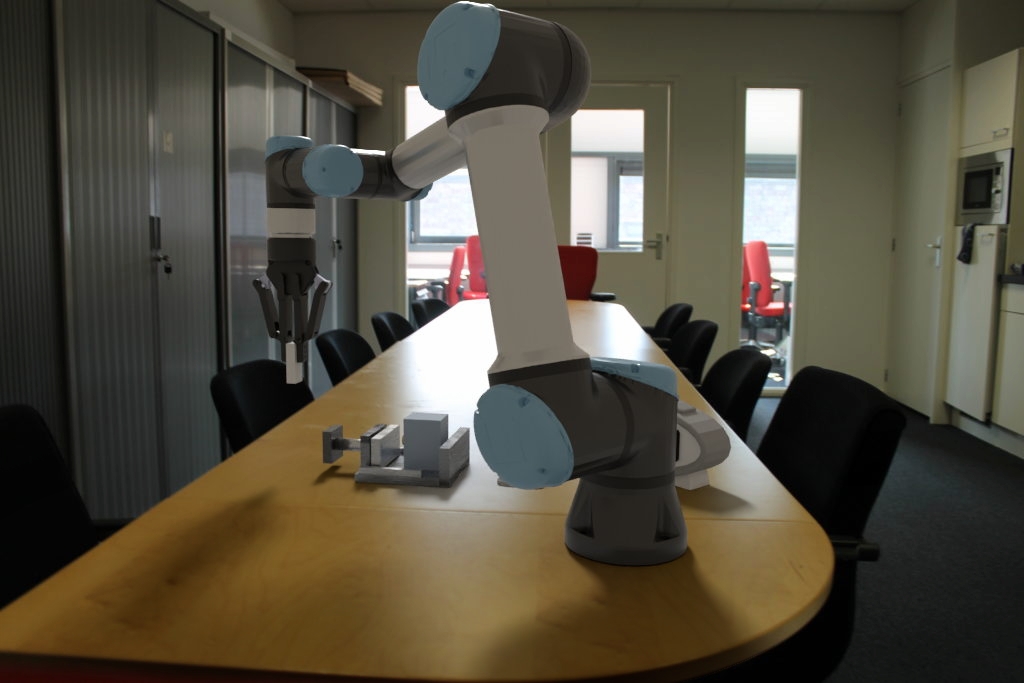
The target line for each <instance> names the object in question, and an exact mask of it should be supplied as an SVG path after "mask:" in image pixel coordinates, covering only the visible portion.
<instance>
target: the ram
mask: <svg viewBox="0 0 1024 683" xmlns="http://www.w3.org/2000/svg"><path fill="white" fill-rule="evenodd" d="M343 427H344V426H343V424H333V425H330V427H328V428H326V429H324V430H322V432H321V433H322V463H323V464H329V465H331V464H334V463H335V462H337V461H338V460H339V459H341V458H342V457H343V456H344V452H348V451H349V452H360V438H347V437H344V428H343ZM400 427H401V426H400V424H392V423H391V424H389V425H388V426H387V428H385V429H384V430H382V431H381V432H380V433H378V434H377V435H375V436H374V437H373V438H371V466H374V467H385V466H387V465H388V464H389V463H390V462H391V461H392V460H394V459H395V458H396V457H397V456H398V455H399V454H400V447H401V441H400V440H401V439H400V438H401V437H400V436H401V431H400Z"/></svg>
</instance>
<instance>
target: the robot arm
mask: <svg viewBox="0 0 1024 683" xmlns="http://www.w3.org/2000/svg"><path fill="white" fill-rule="evenodd" d="M420 45H421V46H420V49H419V53H418V58H417V66H416V68H417V71H416V72H417V74H416V76H417V77H416V78H417V84H418V89H419V91H420V94H421V96H422V98H423V99H424V101H426V102H427V104H429V106H431V107H433V108H434V109H437V110H438V111H443V112H444V115H445V116H442V117H441V118H440V119H438V120H436V121H435V122H433V123H432V124H430V125H428V126H427V127H425V128H424V129H423V130H420V131H419V132H417V133H416V134H414V135H413V136H411V137H410V138H408V139H406V140H404V141H403V142H401V143H400V144H398V145H396V146H393V147H392V148H391V149H389V150H372V149H371V150H370V149H359V148H350V147H348V146H347V145H342V144H330V143H326V144H322V145H318V146H315V144H314V140H312V139H311V138H310V137H306V136H302V135H301V136H300V135H272V136H270V137H268V138H267V139H266V140H265V157H264V160H263V161H264V162H263V163H264V168H265V170H264V173H265V193H266V194H265V196H266V201H265V202H266V233H267V234H270V237H268V239H266V243H267V244H266V245H267V246H266V248H267V262H268V264H267V267H266V269H265V274H264V275H262V276H261V277H259V278H255V279H253V280H252V286H253V288H254V289H255V290H256V293H257V294H258V298H259V301H260V305H261V308H262V309H261V310H262V312H263V313H262V314H263V316H264V317H263V318H264V321H265V322H264V323H265V324H266V330H267V333H268V336H269V338H270V339H275V340H276V341H279V342H280V358H281V363H285V364H286V367H285V368H286V372H285V373H286V384H295V385H296V384H298V383H301V382H303V363H305V362H307V359H308V352H307V351H308V341H310V340H314V339H315V338H318V337H319V333H320V329H321V323H322V319H323V314H324V311H325V310H324V309H325V305H326V302H327V301H326V300H327V296H328V294H329V292H330V291H331V289H332V287H333V284H334V283H333V281H332V280H329V279H328V280H327V278H326V279H325V278H324V277H322V276H321V275H320V272H319V269H318V267H317V264H316V263H317V240H316V239H315V238H314V237H313V235H315V234H316V231H317V230H316V198H322V199H325V198H327V199H352V200H353V199H355V200H357V199H358V200H378V201H379V200H382V201H398V202H404V203H407V202H411V201H421V200H423V199H425V198H427V197H428V195H429V192H430V191H432V189H433V186H434V183H435V182H436V181H438V180H440V179H442V178H444V177H446V176H448V175H450V174H452V173H453V172H456V171H457V170H460V169H461V168H463V167H465V166H466V167H467V173H468V178H469V179H468V180H469V185H470V191H471V197H472V203H473V208H474V216H475V222H476V228H477V234H478V235H477V236H478V240H479V246H480V247H479V248H480V253H481V257H482V258H481V260H482V264H483V265H482V266H483V270H484V271H483V272H484V276H485V283H486V289H487V296H488V301H489V307H490V314H491V319H492V326H493V332H494V337H495V345H496V350H497V355H496V358H495V360H494V361H493V362H492V364H491V365H490V367H489V368H488V369H487V371H486V372H487V379H488V386H489V387H488V389H487V390H486V391H485V392H483V393H482V394H481V395H480V396H479V398H478V399H477V402H476V408H477V409H476V410H474V412H473V432H474V433H473V434H474V437H475V441H476V445H477V447H478V450H479V452H480V455H481V456H482V458H483V460H484V462H485V463H486V464H487V467H489V469H490V471H492V472H493V473H495V474H496V475H497V476H498V478H500V479H501V480H503V481H504V482H505V483H507V484H509V485H511V486H510V487H512V488H517V489H519V490H525V491H529V490H530V491H531V490H537V489H542V488H555V487H560V486H562V485H563V484H565V483H566V482H570V481H573V480H577V479H579V482H578V484H577V487H576V489H575V493H574V495H573V499H572V501H571V505H570V507H569V510H568V513H567V515H566V518H565V522H564V543H565V545H566V546H567V548H568V549H570V550H571V552H574V553H575V554H577V555H579V556H582V557H583V558H586V559H590V560H593V561H595V562H600V563H606V564H613V565H623V566H649V565H657V564H662V563H663V564H664V563H666V562H670V561H673V560H675V559H678V558H680V557H681V556H682V555H684V554H685V552H686V551H687V549H688V527H687V523H686V520H685V517H684V513H683V510H682V507H681V506H682V505H681V502H680V499H679V496H678V491H677V489H676V486H675V461H676V434H677V408H678V401H679V400H680V396H679V386H678V374H677V372H676V371H675V370H674V369H673V368H672V367H671V366H668V365H667V364H662V363H656V362H650V361H649V362H648V361H643V360H635V359H626V358H625V359H624V358H617V357H616V358H615V357H604V356H591V355H590V354H589V353H588V352H586V351H585V350H584V349H583V348H581V347H580V346H579V345H577V344H576V343H575V341H574V337H573V330H572V326H571V325H572V323H571V320H570V313H569V309H568V308H569V307H568V306H569V305H568V301H567V296H566V289H565V282H564V277H563V273H562V266H561V259H560V254H559V248H558V242H557V237H556V230H555V223H554V218H553V213H552V207H551V200H550V195H549V189H548V184H547V178H546V177H547V176H546V171H545V165H544V159H543V153H542V152H543V151H542V146H541V141H540V136H541V135H543V134H545V133H547V132H548V131H550V130H552V129H554V128H556V127H559V125H562V124H563V123H565V122H566V121H568V120H569V119H570V118H572V116H574V115H576V113H577V112H578V111H579V109H580V108H582V105H583V104H584V103H585V101H586V99H587V97H588V95H589V92H590V88H591V83H592V73H593V72H592V65H591V58H590V56H589V53H588V51H587V49H586V46H585V45H584V43H583V42H582V40H581V39H580V38H579V36H577V35H576V34H575V32H573V31H572V30H571V29H569V27H567V26H565V25H562V24H560V23H558V22H556V21H552V20H549V19H542V18H538V17H535V16H529V15H527V14H526V15H525V14H521V13H517V12H513V11H509V10H505V9H501V8H497V7H496V6H495V5H493V4H491V3H477V2H472V1H471V2H470V1H458V2H455V3H451V4H450V5H448V6H447V7H445V8H444V9H443V10H441V11H440V12H439V13H438V14H437V16H436V17H435V18H434V19H433V21H432V22H431V24H430V25H429V27H428V28H427V30H426V33H425V36H424V38H423V40H422V42H421V44H420ZM313 285H314V289H315V291H314V293H313V296H312V297H313V298H312V301H311V307H310V312H309V316H308V299H309V291H310V289H311V288H312V286H313ZM272 286H273V287H274V289H275V290H276V296H277V298H276V299H277V301H278V310H277V304H276V301H275V297H274V294H273V291H272V288H271V287H272ZM293 322H294V326H293ZM293 327H294V330H293Z"/></svg>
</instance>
